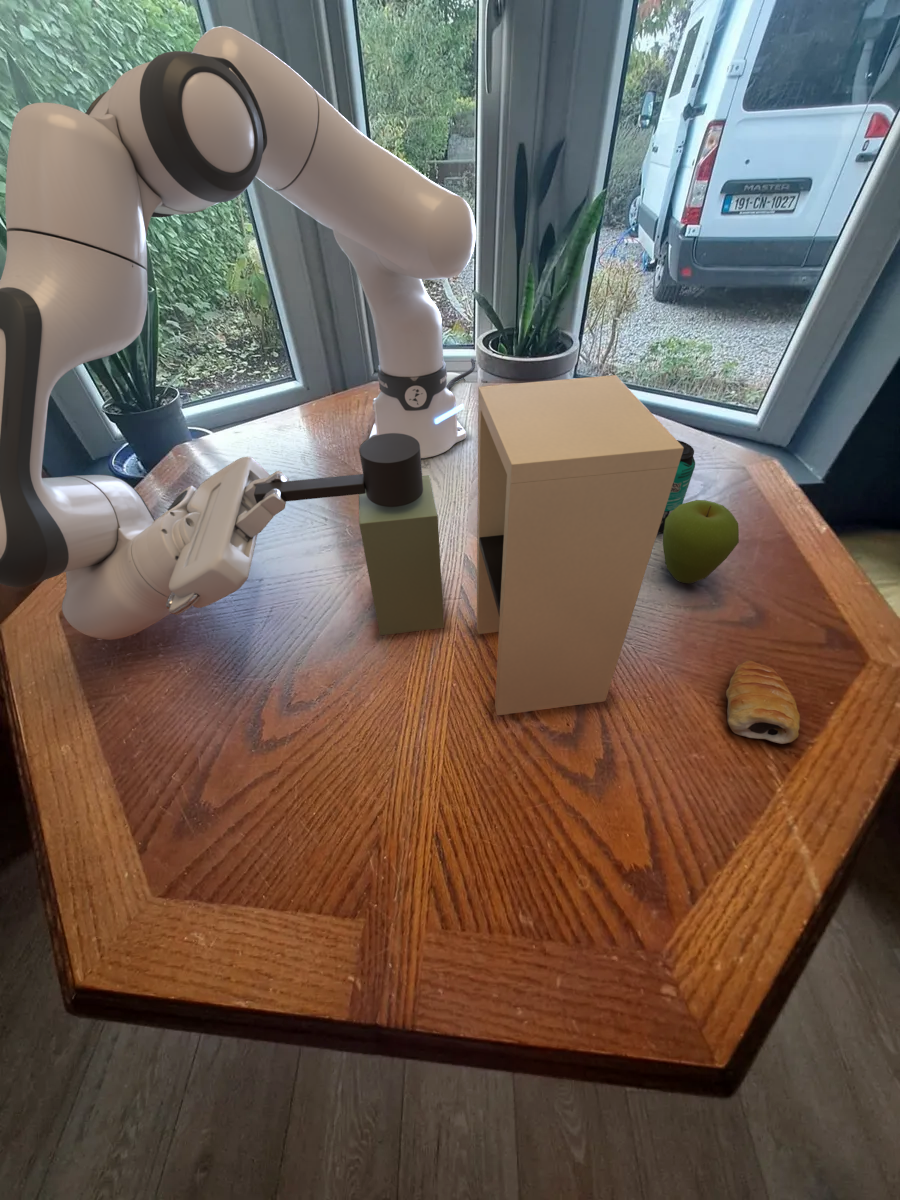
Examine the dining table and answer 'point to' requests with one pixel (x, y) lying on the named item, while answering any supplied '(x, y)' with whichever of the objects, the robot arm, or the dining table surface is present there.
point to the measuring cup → (366, 475)
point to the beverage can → (680, 482)
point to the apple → (698, 539)
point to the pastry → (761, 705)
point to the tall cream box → (565, 531)
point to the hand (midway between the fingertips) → (283, 487)
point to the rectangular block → (404, 562)
